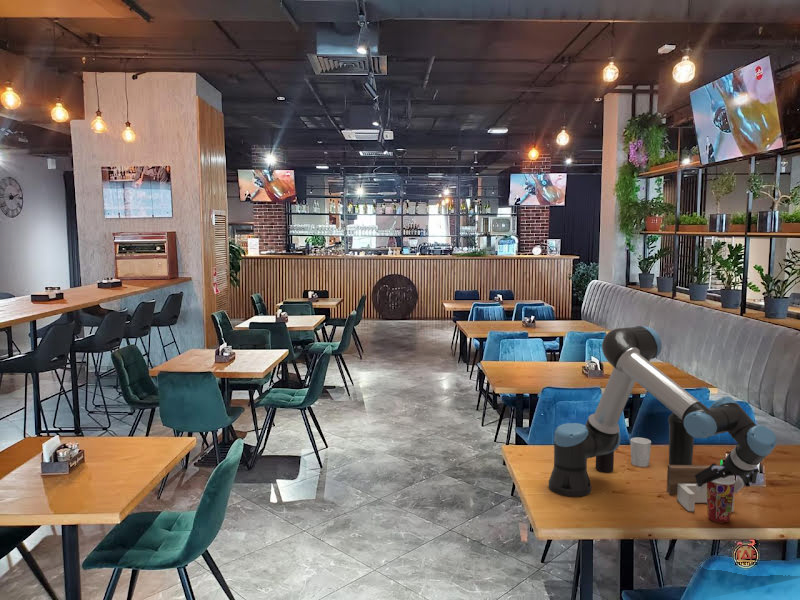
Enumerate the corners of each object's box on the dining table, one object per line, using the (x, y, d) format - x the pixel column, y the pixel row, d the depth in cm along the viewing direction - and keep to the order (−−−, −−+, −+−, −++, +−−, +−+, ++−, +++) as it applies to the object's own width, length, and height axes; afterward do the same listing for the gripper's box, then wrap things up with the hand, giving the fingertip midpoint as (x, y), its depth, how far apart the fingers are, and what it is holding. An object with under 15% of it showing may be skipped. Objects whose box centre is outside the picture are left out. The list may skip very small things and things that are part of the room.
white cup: (653, 467, 246) (654, 443, 245) (633, 467, 246) (634, 443, 245) (646, 460, 254) (646, 437, 253) (626, 460, 254) (627, 437, 253)
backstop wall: (715, 495, 218) (716, 468, 218) (669, 494, 219) (671, 467, 218) (711, 492, 221) (712, 465, 221) (666, 491, 222) (667, 464, 221)
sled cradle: (733, 511, 205) (734, 494, 204) (688, 511, 205) (688, 493, 204) (720, 500, 213) (721, 484, 213) (677, 500, 214) (677, 483, 213)
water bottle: (697, 465, 248) (700, 410, 246) (689, 472, 240) (691, 415, 238) (671, 459, 255) (673, 406, 253) (662, 466, 247) (665, 410, 245)
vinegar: (591, 469, 244) (593, 420, 242) (602, 465, 248) (603, 417, 246) (606, 474, 239) (608, 424, 237) (616, 470, 243) (618, 421, 241)
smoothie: (732, 527, 194) (735, 466, 192) (703, 521, 198) (706, 461, 196) (734, 517, 201) (737, 458, 199) (706, 511, 205) (708, 454, 203)
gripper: (707, 471, 182) (683, 499, 199) (787, 471, 182) (756, 500, 198) (699, 447, 187) (676, 477, 204) (777, 448, 186) (748, 478, 203)
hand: (716, 488), depth 201 cm, fingers open, 11 cm apart
